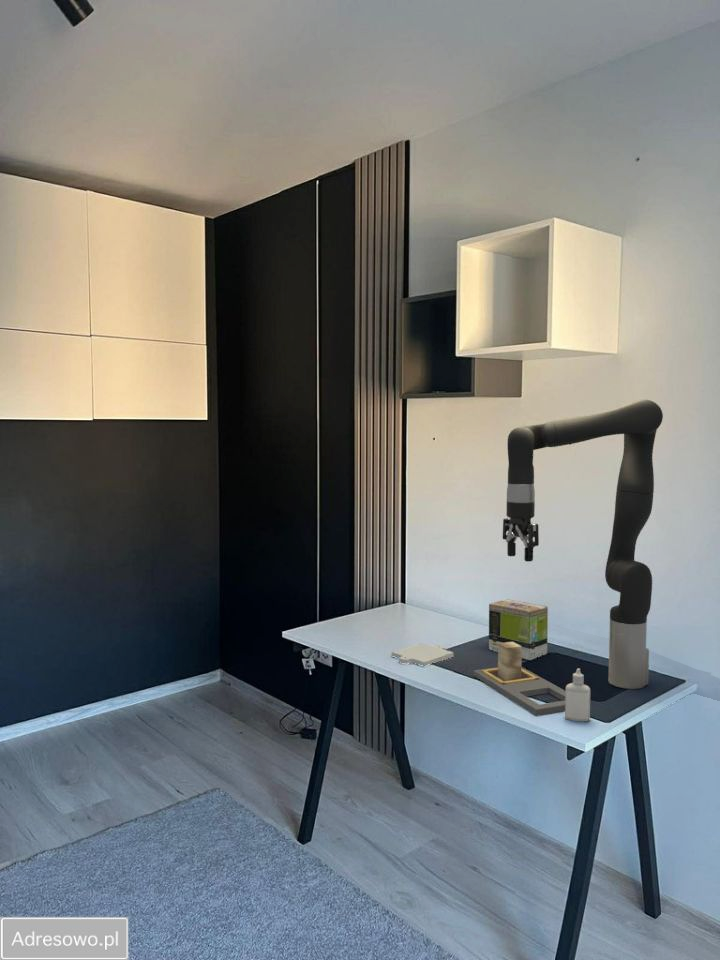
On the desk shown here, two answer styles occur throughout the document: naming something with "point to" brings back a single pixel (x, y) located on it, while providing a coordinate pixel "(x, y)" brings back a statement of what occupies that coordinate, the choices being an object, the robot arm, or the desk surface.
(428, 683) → the desk surface
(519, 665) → the plug
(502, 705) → the desk surface
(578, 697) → the eye dropper bottle
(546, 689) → the dock
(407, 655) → the mounting plate
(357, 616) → the desk surface
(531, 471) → the robot arm
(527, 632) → the tea box
